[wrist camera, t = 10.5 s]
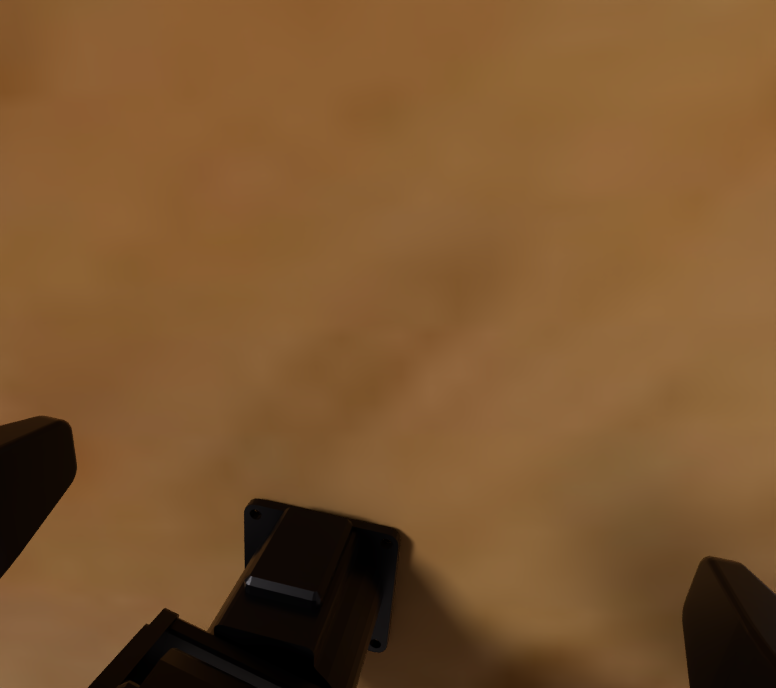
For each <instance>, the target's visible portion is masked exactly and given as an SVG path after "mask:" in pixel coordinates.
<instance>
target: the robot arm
mask: <svg viewBox="0 0 776 688" xmlns="http://www.w3.org/2000/svg"><path fill="white" fill-rule="evenodd" d="M76 471H77V462H76V455H75V448H74V441H73V434H72V429H71V426H70V425H69V423H68V422H66V421H65V420H62V419H57V418H53V417H48V416H36V417H32V418H28V419H25V420H21V421H17V422H13V423H9V424H5V425H2V426H0V578H1V577H2V576H3V575H4V573H5V572H6V571H7V570H8V569H9V568H10V566H11V565H12V564H13V562H14V561H15V560H16V558H17V557H18V556H19V555H20V553H21V552H22V551H23V549H24V548H25V546H26V545H27V544H28V542H29V541H30V540H31V538H32V537H33V536H34V534H35V533H36V531H37V530H38V529H39V527H40V526H41V525H42V523H43V522H44V520H45V519H46V518H47V516H48V515H49V514H50V512H51V511H52V510H53V508H54V507H55V505H56V504H57V503H58V501H59V500H60V499H61V497H62V496H63V495H64V493H65V492H66V490H67V489H68V488H69V486H70V485H71V483H72V482H73V480H74V478H75V475H76ZM255 510H258V511H259V512H260V513H261V514H259V513H257V512H256V511H255ZM383 539H388V540H390V541H391V543H388V542H386V541H384V540H383ZM400 541H401V539H400V535H399V533H398V532H397V531H396V530H394V529H392V528H389V527H385V526H380V525H376V524H371V523H367V522H362V521H358V520H353V519H349V518H344V517H340V516H335V515H330V514H326V513H321V512H317V511H312V510H308V509H303V508H299V507H294V506H290V505H285V504H281V503H276V502H272V501H267V500H263V499H253V500H251V501H250V502H249V503H248V505H247V506H246V508H245V511H244V543H245V570H244V571H243V573H242V575H241V576H240V578H239V580H238V581H237V583H236V585H235V586H234V588H233V589H232V591H231V593H230V594H229V596H228V598H227V599H226V601H225V603H224V604H223V606H222V608H221V609H220V611H219V613H218V614H217V616H216V618H215V619H214V621H213V622H212V624H211V626H210V627H209V629H208V631H205V630H203V629H201V628H199V627H196V626H194V625H192V624H190V623H188V622H186V621H184V620H182V619H180V618H179V614H176V613H174V612H172V611H170V610H168V609H166V608H164V609H163V610H162V611H161V612H160V614H159V615H158V616H157V617H156V618H155V619H154V620H153V621H152V622H151V623H150V625H148V624H145V625H144V626H143V628H142V629H141V630H140V631H139V632H138V633H137V634H136V635H135V636H134V637H133V639H132V640H131V641H130V642H129V643H128V644H127V645H126V646H125V647H124V648H123V650H122V651H121V652H120V653H119V654H118V655H117V656H116V657H115V658H114V659H113V660H112V662H111V663H110V664H109V665H108V666H107V667H106V668H105V669H104V670H103V671H102V673H101V674H100V675H99V676H98V677H97V678H96V679H95V680H94V681H93V682H92V684H91V685H90V686H89V687H88V688H356V687H357V684H358V680H359V677H360V674H361V670H362V667H363V664H364V660H365V657H366V654H367V650H368V651H372V652H378V653H379V652H383V651H384V650H385V649H386V647H387V643H388V640H389V632H390V624H391V615H392V607H393V599H394V591H395V582H396V574H397V566H398V557H399V549H400ZM682 622H683V632H684V641H685V650H686V658H687V667H688V676H689V685H690V688H776V594H775V593H774V592H772V591H771V590H770V589H769V588H768V587H767V586H766V585H765V584H764V583H763V582H762V581H760V580H759V579H758V578H757V577H756V576H755V575H754V574H753V573H752V572H751V571H750V570H748V569H747V568H746V567H745V566H744V565H743V564H741V563H739V562H736V561H732V560H727V559H722V558H717V557H713V556H708V557H705V558H703V559H702V561H701V562H700V564H699V566H698V568H697V571H696V574H695V576H694V579H693V581H692V584H691V587H690V589H689V592H688V594H687V597H686V600H685V603H684V607H683V614H682ZM375 639H376V640H375ZM377 640H378V641H377Z"/></svg>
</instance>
